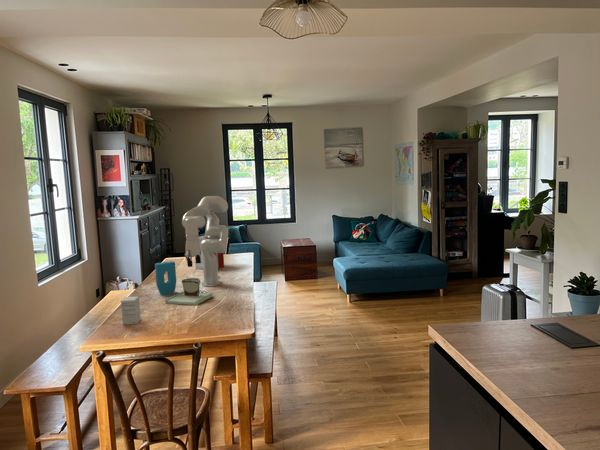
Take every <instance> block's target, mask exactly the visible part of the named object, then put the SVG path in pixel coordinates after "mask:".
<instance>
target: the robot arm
mask: <svg viewBox="0 0 600 450" xmlns="http://www.w3.org/2000/svg"><path fill="white" fill-rule="evenodd" d="M228 209H229V204H228V202H227V200H225V198H223V197H221V196H219V195H206V196H203V198H201V200H200V201H199V203H198V204H197V206H196V207H193V208H192V209H189V210H188V211H186V213H185V214H183V217H182V220H181V225H182V227H183V228H184V229H185V239H186V240H185V254H184V257H185V259H186V263H187V267H188V268H193V266H194V265H193V258H195V256H196V263H201V258H200V257H201V251H202V256H203V269H204V270H203V282H202V283H201V285H202V287H216V286H219V285H221V281H220V280H219V279H221V276H220V275H219V272H218V270H219V268H217V258H216V256H215V255H214V253H225V252H226V250H227V245H228V240H229V239H228V238H229V228H228V226H226V225H225V224H220V219H219V217H218V216H217V215H216V214H215V213H225V212H227V211H228ZM205 218H206V219H205ZM204 226H205V232H204V236H206V237H207V238H209V239H205V240H203V241H202V242H201V249H200V245H199V237H200V236H199V229H203V227H204Z"/></svg>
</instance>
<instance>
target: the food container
mask: <svg viewBox="0 0 600 450" xmlns="http://www.w3.org/2000/svg"><path fill="white" fill-rule="evenodd" d="M181 284H182V289H183V292H184V296H197V297H198V296H199V293H200V285H201V284H202V283H201V280H200V278H198V277H197V278H196V277H189V278H183V279H181Z"/></svg>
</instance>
